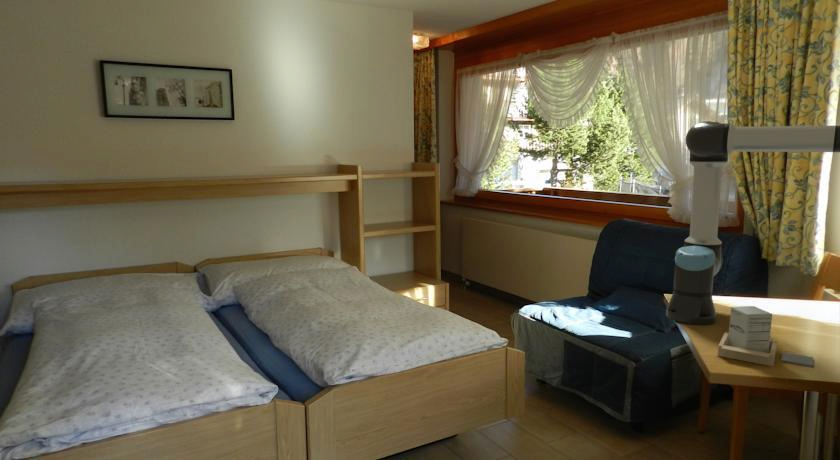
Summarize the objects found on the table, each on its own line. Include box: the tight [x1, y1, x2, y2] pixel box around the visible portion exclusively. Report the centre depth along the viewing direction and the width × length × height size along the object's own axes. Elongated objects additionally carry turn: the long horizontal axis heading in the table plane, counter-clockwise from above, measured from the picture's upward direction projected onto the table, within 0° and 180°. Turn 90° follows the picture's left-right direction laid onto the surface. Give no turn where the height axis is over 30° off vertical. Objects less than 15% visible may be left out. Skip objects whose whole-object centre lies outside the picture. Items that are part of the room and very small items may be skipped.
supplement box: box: [727, 305, 773, 353], centre depth 156 cm, size 7×7×13 cm
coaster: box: [780, 351, 814, 368], centre depth 152 cm, size 7×7×1 cm
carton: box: [717, 331, 778, 367], centre depth 157 cm, size 13×17×3 cm
